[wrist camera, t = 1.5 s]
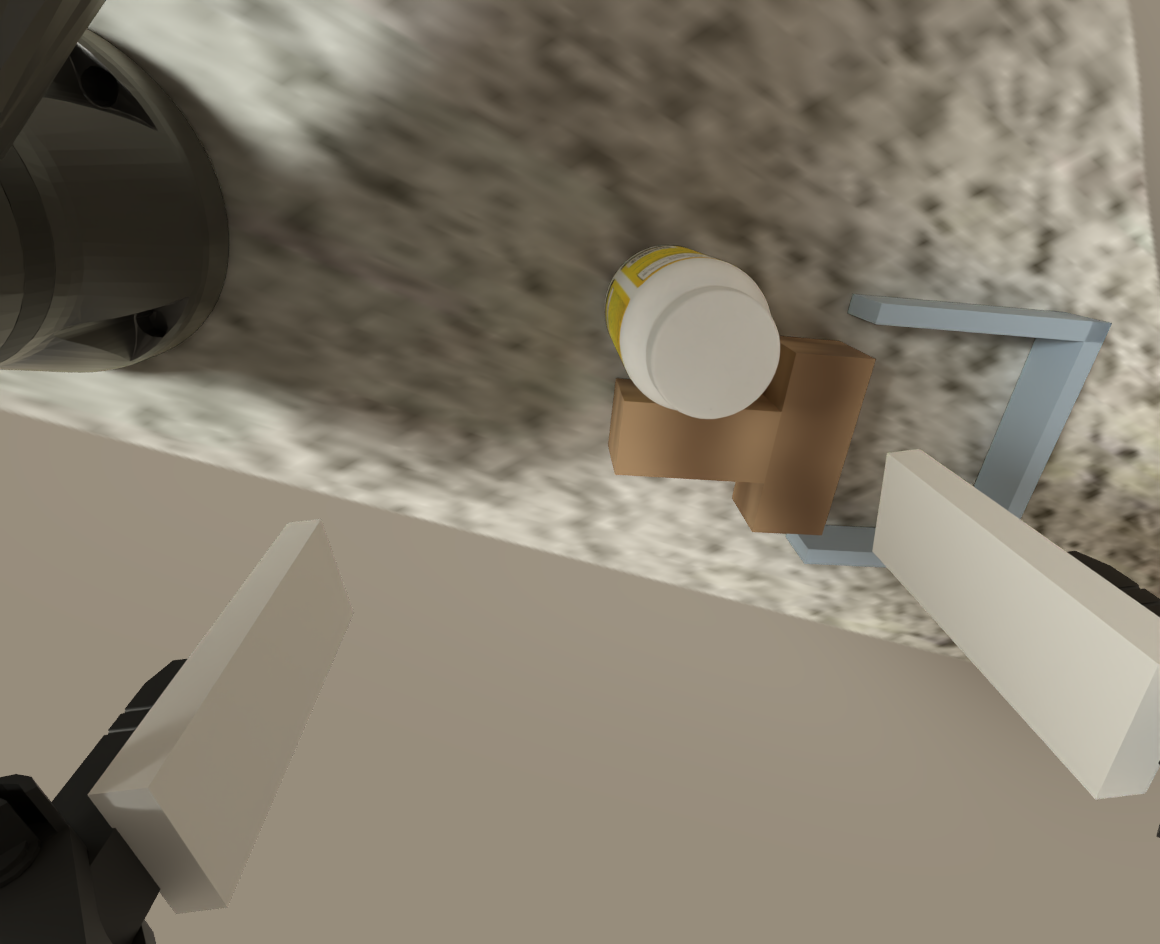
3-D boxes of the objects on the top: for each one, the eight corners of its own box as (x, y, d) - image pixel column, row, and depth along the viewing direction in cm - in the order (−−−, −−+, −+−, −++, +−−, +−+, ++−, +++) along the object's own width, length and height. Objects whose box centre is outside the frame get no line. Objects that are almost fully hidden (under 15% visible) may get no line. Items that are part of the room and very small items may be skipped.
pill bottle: (671, 385, 33) (724, 469, 23) (580, 322, 31) (594, 383, 21) (744, 289, 31) (839, 335, 21) (651, 216, 29) (704, 228, 19)
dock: (785, 536, 37) (804, 563, 34) (852, 293, 31) (881, 303, 28) (963, 545, 38) (995, 572, 35) (1064, 312, 32) (1112, 323, 29)
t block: (602, 490, 35) (608, 524, 32) (622, 323, 31) (631, 340, 27) (794, 501, 36) (821, 535, 33) (839, 340, 32) (875, 359, 28)
